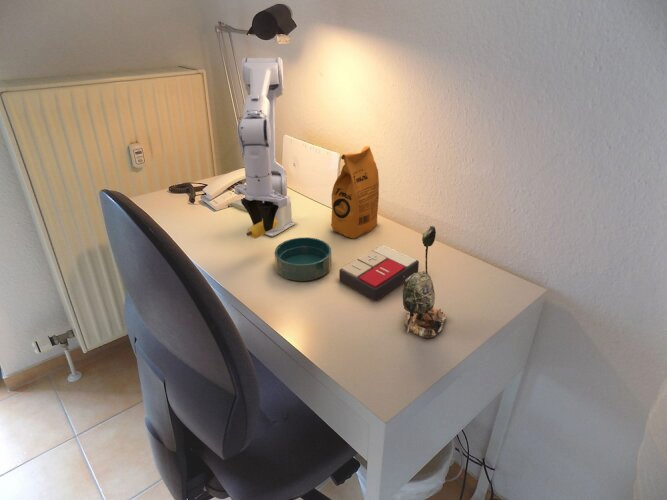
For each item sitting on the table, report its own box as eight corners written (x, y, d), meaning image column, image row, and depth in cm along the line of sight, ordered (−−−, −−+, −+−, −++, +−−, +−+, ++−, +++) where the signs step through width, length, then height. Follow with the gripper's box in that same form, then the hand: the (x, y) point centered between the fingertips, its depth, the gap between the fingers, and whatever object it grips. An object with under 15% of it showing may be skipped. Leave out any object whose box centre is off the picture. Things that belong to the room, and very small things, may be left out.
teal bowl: (299, 248, 110) (298, 232, 108) (341, 263, 104) (341, 246, 102) (264, 270, 101) (263, 254, 99) (308, 288, 94) (308, 271, 92)
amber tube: (271, 224, 108) (270, 213, 107) (280, 227, 107) (279, 216, 105) (243, 239, 101) (242, 228, 100) (253, 243, 100) (251, 231, 98)
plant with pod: (385, 326, 83) (392, 234, 74) (425, 304, 89) (436, 216, 80) (416, 349, 78) (428, 253, 68) (456, 324, 84) (473, 232, 74)
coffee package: (325, 230, 119) (324, 151, 108) (355, 216, 127) (357, 141, 116) (353, 241, 113) (355, 160, 102) (382, 226, 121) (386, 149, 110)
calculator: (338, 267, 95) (382, 241, 104) (338, 282, 97) (382, 256, 106) (375, 287, 88) (420, 258, 97) (375, 304, 91) (418, 273, 99)
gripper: (222, 172, 97) (229, 226, 104) (270, 185, 90) (274, 242, 97) (244, 163, 103) (250, 215, 109) (291, 175, 95) (294, 230, 102)
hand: (263, 227), depth 103 cm, fingers closed on amber tube, 3 cm apart
